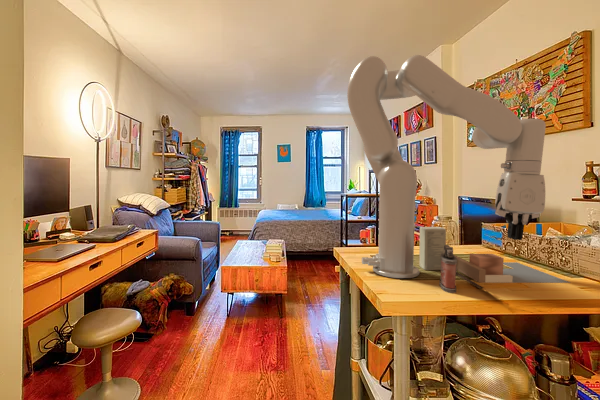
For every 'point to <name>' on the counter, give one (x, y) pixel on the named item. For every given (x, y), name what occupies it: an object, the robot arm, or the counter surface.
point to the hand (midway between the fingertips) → (514, 238)
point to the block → (488, 263)
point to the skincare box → (431, 247)
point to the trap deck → (504, 274)
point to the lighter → (448, 270)
